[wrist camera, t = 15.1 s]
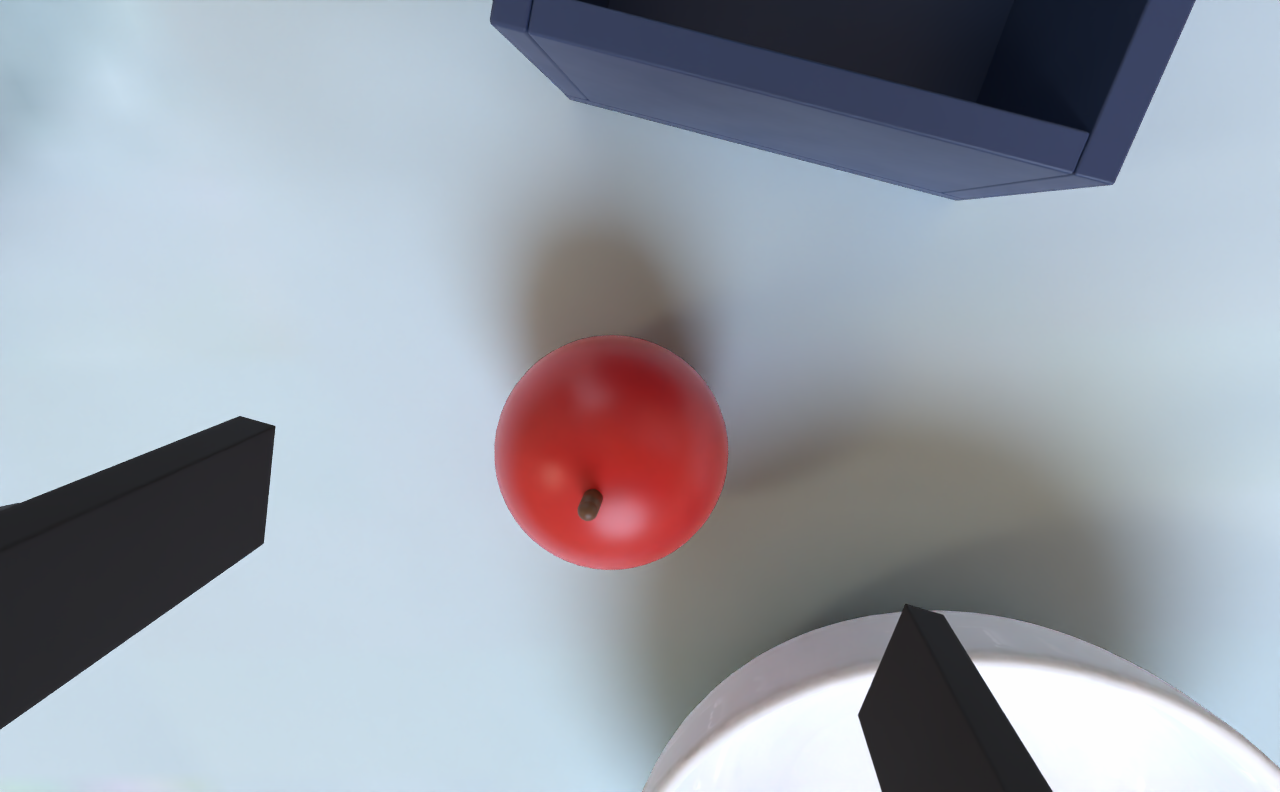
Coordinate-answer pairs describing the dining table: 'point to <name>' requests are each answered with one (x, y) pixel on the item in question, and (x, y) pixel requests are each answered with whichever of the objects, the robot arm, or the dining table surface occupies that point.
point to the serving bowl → (1020, 682)
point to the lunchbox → (874, 80)
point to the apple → (611, 452)
